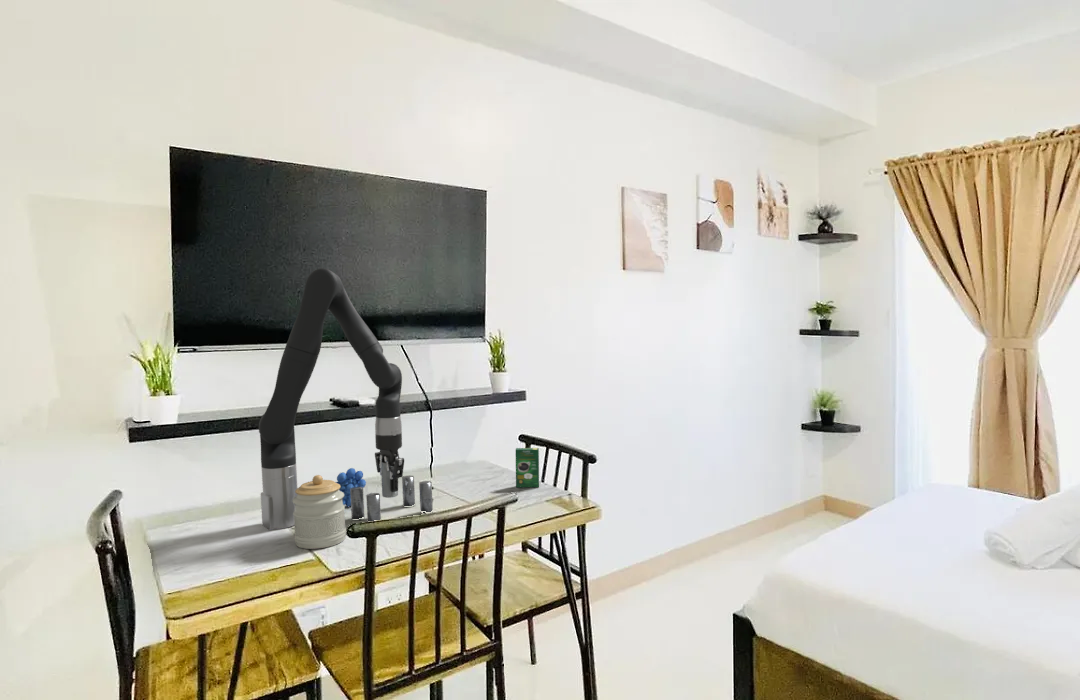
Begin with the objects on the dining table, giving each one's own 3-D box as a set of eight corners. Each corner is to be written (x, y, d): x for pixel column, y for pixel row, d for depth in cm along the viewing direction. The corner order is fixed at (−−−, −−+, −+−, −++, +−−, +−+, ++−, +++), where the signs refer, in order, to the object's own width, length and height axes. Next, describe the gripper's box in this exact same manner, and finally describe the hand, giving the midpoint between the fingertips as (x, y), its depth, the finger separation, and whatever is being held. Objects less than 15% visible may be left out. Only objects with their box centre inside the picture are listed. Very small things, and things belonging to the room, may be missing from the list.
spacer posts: (371, 529, 178) (370, 497, 178) (349, 518, 188) (348, 488, 188) (435, 512, 192) (433, 482, 192) (411, 503, 202) (410, 474, 202)
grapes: (360, 500, 207) (358, 463, 207) (370, 504, 202) (368, 466, 202) (325, 508, 200) (323, 470, 199) (334, 513, 195) (332, 473, 194)
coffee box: (540, 485, 218) (539, 447, 217) (540, 487, 215) (538, 448, 214) (516, 485, 218) (515, 447, 218) (515, 488, 215) (514, 449, 215)
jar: (351, 543, 168) (348, 476, 167) (299, 553, 162) (295, 484, 161) (340, 529, 179) (337, 466, 178) (291, 538, 173) (287, 474, 172)
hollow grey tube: (385, 498, 186) (384, 463, 186) (379, 495, 190) (378, 460, 189) (400, 496, 189) (399, 461, 188) (394, 492, 193) (393, 458, 192)
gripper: (365, 430, 191) (366, 487, 192) (388, 436, 181) (390, 497, 182) (388, 427, 196) (389, 482, 197) (412, 433, 186) (413, 492, 186)
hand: (390, 489), depth 189 cm, fingers closed on hollow grey tube, 4 cm apart
